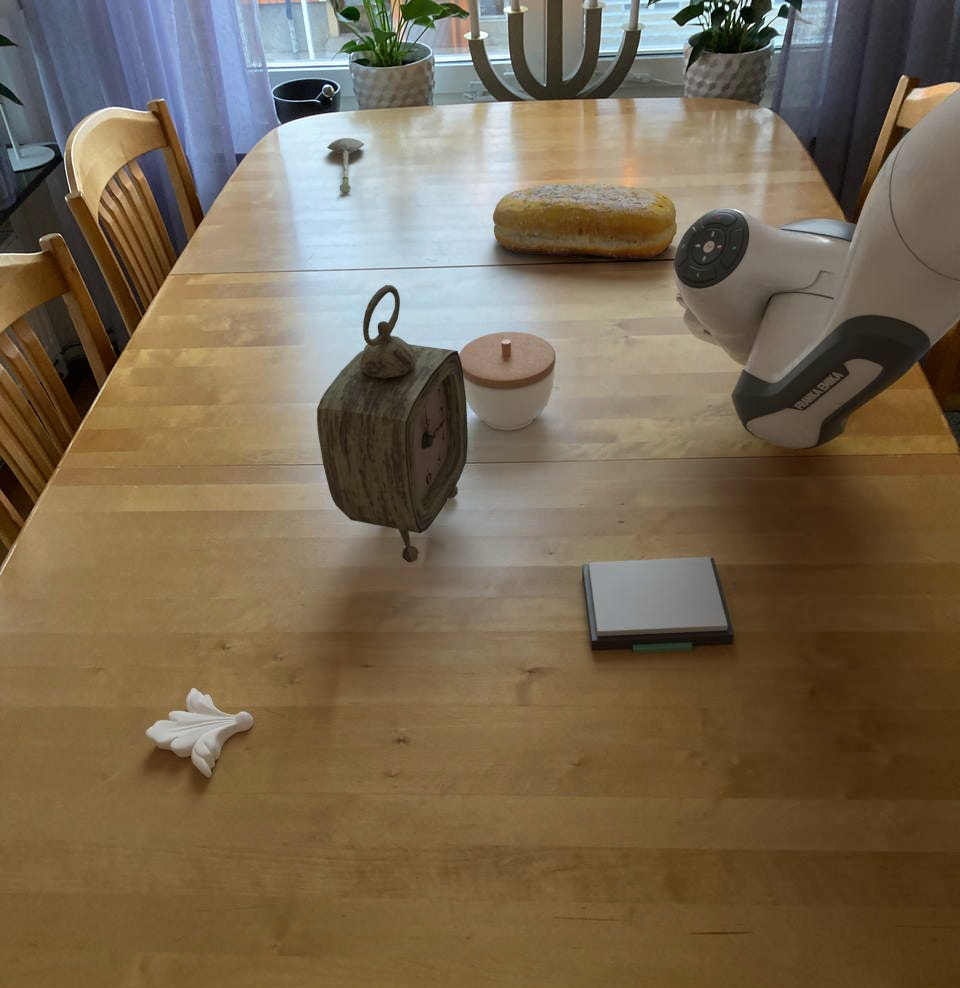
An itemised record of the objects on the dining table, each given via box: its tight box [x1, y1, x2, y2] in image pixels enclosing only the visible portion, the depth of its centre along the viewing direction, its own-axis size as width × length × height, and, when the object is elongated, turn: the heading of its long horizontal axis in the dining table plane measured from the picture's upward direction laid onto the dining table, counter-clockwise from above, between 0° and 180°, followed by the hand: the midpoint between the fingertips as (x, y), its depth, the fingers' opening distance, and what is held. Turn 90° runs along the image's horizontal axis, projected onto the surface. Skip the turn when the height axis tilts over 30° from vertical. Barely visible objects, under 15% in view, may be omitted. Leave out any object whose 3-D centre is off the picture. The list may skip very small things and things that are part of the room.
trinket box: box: [458, 331, 557, 432], centre depth 112 cm, size 11×11×9 cm
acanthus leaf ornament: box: [145, 687, 254, 779], centre depth 83 cm, size 8×7×2 cm
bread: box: [492, 183, 678, 261], centre depth 143 cm, size 13×26×8 cm, turn 76°
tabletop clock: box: [316, 284, 469, 563], centre depth 94 cm, size 14×9×25 cm, turn 160°
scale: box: [581, 556, 735, 654], centre depth 89 cm, size 12×10×4 cm
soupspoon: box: [326, 137, 365, 194], centre depth 172 cm, size 22×3×7 cm
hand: (794, 366), depth 109 cm, fingers open, 7 cm apart
